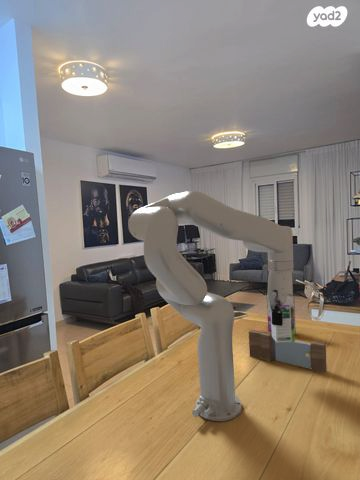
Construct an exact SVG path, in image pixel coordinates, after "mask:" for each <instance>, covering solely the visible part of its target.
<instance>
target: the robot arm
mask: <svg viewBox="0 0 360 480" xmlns="http://www.w3.org/2000/svg"><path fill="white" fill-rule="evenodd" d="M127 224H128V225H127V226H128V231H129V233H130V234H131V236H132V237H134V238H135V239H137V240H138V241H142V242H143V259H144V262H145V265H146V267H147V269H148V271H149V272H151V274H152V275H153V277H155V278H156V281H155V285H156V289H157V291H158V294H159V295H160V297H161V298H162V299H164V301H165V302H166V303H167V304H168V305H169V306H171V308H172V309H174V310H175V311H176V312H177V313H178V314H179V315H180V316H181V317H182V318H184V319H185V320H187V321H188V322H190V323H193V324H195V325H197V326H198V327H200V332H199V337H198V339H197V343H196V344H197V359H198V374H199V375H198V377H199V390H200V391H199V392H200V396H199V397H198V398H197V399H196V401H195V408H194V409H192V410H191V411H192V413H191V414H192V416H193V417H194V418H198V417H199V416H201V417H202V418H204V419H206V420H208V421H213V422H226V421H229V420H233V419H234V418H236V417H237V416H239V415H240V413H241V411H242V401H241V399H240V398H239V397H238V396H237V395H236V388H235V385H236V384H235V371H234V370H235V367H234V352H233V350H234V349H233V348H234V347H233V330H234V322H235V310H234V306H233V304H232V303H231V302H230V301H229V300H228V299H227V298H225V297H223V296H221V295H218V294H216V293H211V292H208V286H207V282H206V281H205V279H204V278H203V277H202V275H201V274H200V273H199V272H198V271H197V270H196V269H195V268H194V267H193V266H192V265H191V264H190V263H189V262H188V261H187V260H186V258H184V257H185V256H183V255H182V254H181V252H180V251H179V248H178V244H177V242H178V241H177V238H178V231H179V225H180V224H181V225H182V224H183V225H184V224H189V225H193V226H195V227H197V228H200V229H203V230H205V231H206V232H208V233H211V234H213V235H216V236H218V237H221V238H225V239H228V240H233V241H235V240H236V241H242V244H243V246H244V247H245V248H246V249H247V250H249V251H251V252H256V253H257V252H258V253H267V270H268V278H267V295H268V302H269V303H270V308H271V312H272V324H273V325H278V326H282V325H283V317H282V313H281V309H282V304H284V303H286V298H287V296H288V295H289V294H291V295H292V296H293V294H294V293H293V292H294V291H293V290H294V289H293V284H294V283H293V276H292V272H294V244H293V243H294V241H293V235H294V234H293V229H292V227H291V226H288V225H280V224H278V223H276V222H274V221H272V220H270V219H269V218H265V217H263V216H259V215H255V214H252V213H249V212H246V211H243V210H239V209H236V208H233V207H231V206H229V205H227V204H225V203H223V202H221V201H219V200H217V199H215V198H214V197H211V196H209V195H207V194H206V193H204V192H201V191H198V190H186V191H182V192H177V193H174V194H171V195H168V196H166V197H164V198H162V199H159V200H157V201H154V202H153V203H150V204H148V205H145V206H142V207H139V208H138V209H136V210H134V211H133V212H132V213H131V215H130V217H129V218H128V223H127ZM293 297H294V296H293ZM277 298H278V300H279V301H280V302H276V299H277ZM277 305H279V308H278V306H277Z"/></svg>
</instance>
